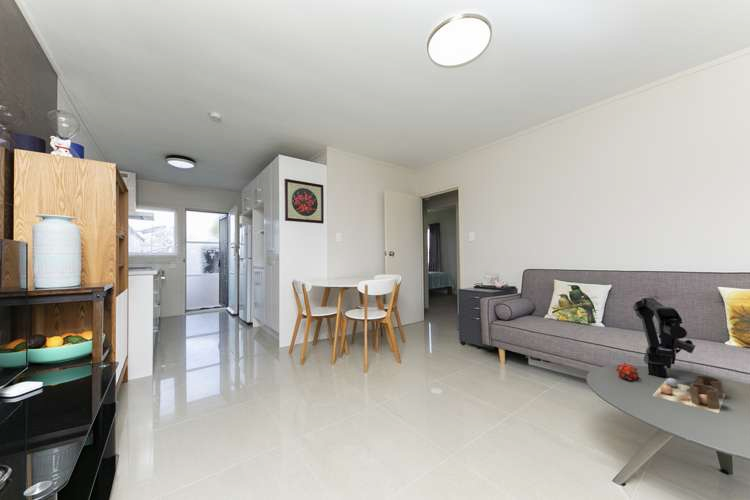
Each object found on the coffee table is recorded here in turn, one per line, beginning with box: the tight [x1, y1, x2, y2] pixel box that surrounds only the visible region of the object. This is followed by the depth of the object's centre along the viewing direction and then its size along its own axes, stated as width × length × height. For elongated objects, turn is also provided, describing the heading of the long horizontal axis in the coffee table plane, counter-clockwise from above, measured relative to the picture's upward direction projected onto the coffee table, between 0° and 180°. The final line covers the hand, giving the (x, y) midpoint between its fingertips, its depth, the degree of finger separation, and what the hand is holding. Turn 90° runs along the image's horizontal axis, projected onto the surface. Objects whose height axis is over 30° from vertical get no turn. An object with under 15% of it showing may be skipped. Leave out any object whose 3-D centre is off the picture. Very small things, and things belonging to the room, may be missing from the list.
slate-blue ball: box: [665, 377, 679, 387], centre depth 134 cm, size 4×4×4 cm
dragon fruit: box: [615, 362, 640, 381], centre depth 145 cm, size 8×8×12 cm
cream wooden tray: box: [652, 375, 726, 414], centre depth 125 cm, size 19×26×8 cm
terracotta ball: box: [659, 384, 673, 394], centre depth 127 cm, size 4×4×4 cm
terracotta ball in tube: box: [699, 394, 708, 405], centre depth 117 cm, size 4×4×4 cm
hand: (670, 366), depth 134 cm, fingers open, 9 cm apart
